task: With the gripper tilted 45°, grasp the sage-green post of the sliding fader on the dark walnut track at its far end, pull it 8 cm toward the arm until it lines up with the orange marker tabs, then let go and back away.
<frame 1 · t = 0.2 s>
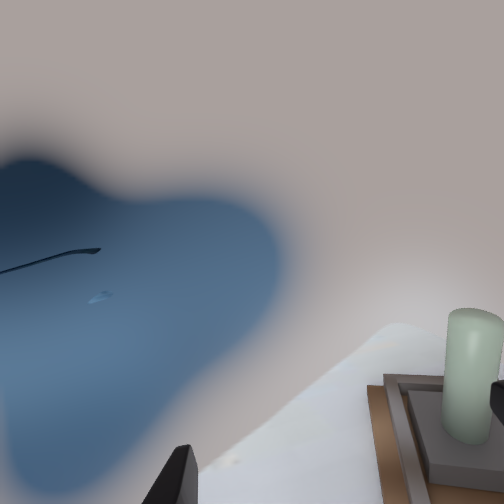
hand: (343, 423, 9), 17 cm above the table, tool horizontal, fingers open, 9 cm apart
fader knob: (468, 388, 20), point 7 cm above the table, slide at 8.0 cm
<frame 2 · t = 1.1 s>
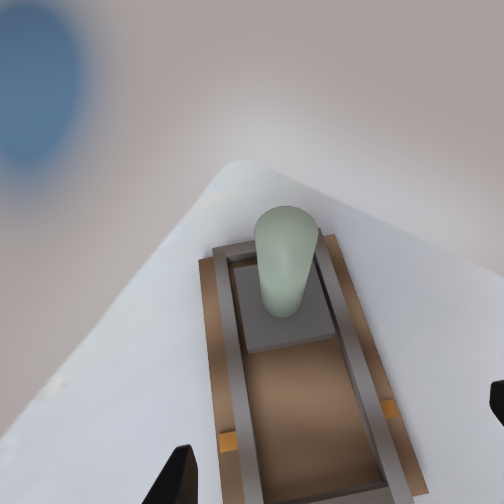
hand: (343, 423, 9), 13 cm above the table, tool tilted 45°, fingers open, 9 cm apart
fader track: (290, 356, 22), on the table
fader knob: (282, 279, 18), point 7 cm above the table, slide at 8.0 cm
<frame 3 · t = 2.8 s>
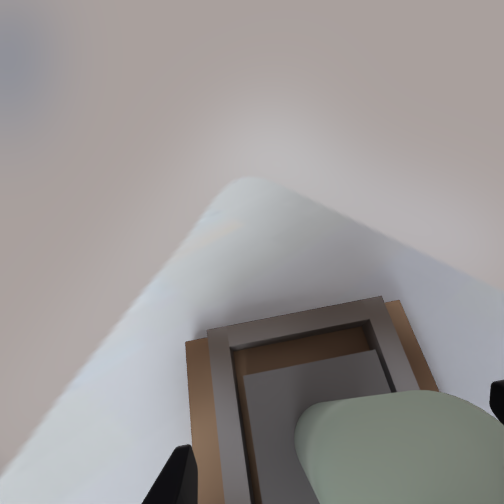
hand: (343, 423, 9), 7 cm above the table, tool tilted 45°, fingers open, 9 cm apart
fader knob: (350, 453, 9), point 7 cm above the table, slide at 8.0 cm
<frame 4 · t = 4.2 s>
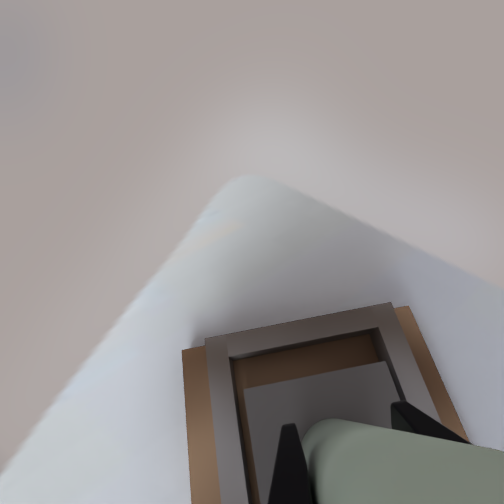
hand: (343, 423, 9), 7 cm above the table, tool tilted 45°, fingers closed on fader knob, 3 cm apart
fader knob: (363, 484, 8), point 7 cm above the table, slide at 8.0 cm, touching gripper
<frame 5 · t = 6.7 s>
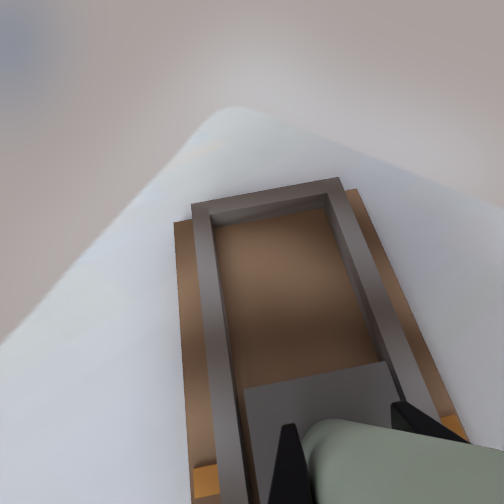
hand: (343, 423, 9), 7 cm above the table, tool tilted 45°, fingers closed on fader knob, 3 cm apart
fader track: (299, 351, 16), on the table
fader knob: (363, 485, 8), point 7 cm above the table, slide at 0.0 cm, touching gripper
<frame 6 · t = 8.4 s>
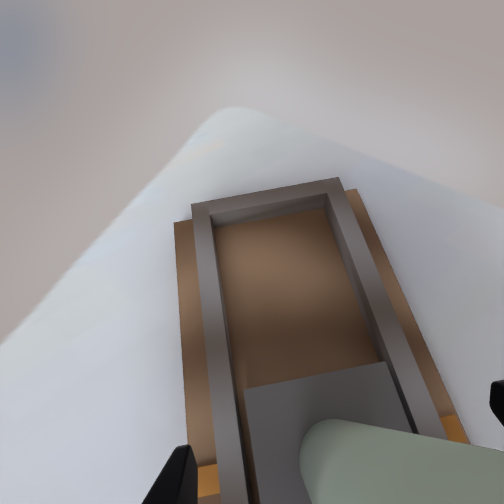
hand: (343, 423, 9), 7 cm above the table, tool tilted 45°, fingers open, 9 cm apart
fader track: (299, 351, 16), on the table
fader knob: (363, 485, 8), point 7 cm above the table, slide at 0.0 cm
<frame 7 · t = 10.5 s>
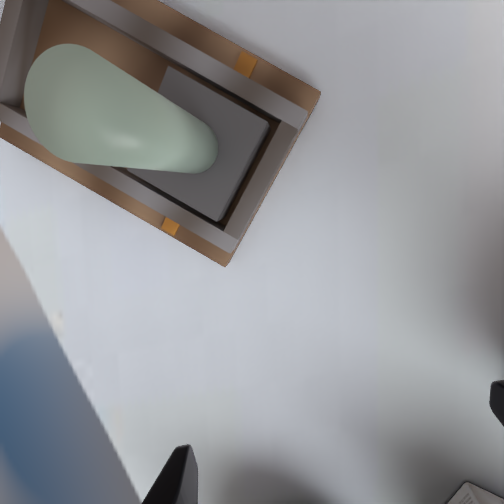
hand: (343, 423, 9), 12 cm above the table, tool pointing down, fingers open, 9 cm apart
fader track: (152, 120, 20), on the table
fader knob: (165, 137, 13), point 7 cm above the table, slide at 0.0 cm
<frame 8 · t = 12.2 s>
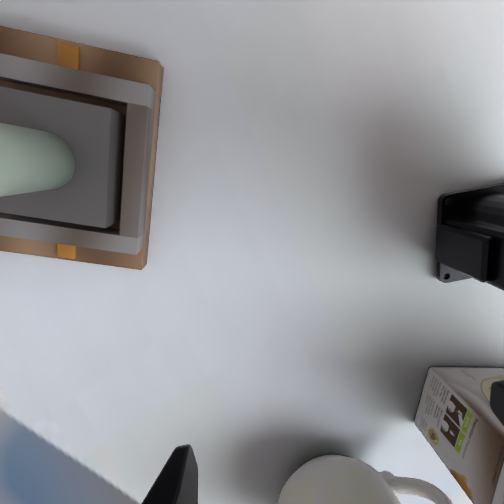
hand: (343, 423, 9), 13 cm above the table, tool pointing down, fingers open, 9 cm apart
coffee box: (466, 394, 26), on the table
teacup: (339, 470, 28), on the table
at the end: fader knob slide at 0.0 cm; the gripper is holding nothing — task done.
